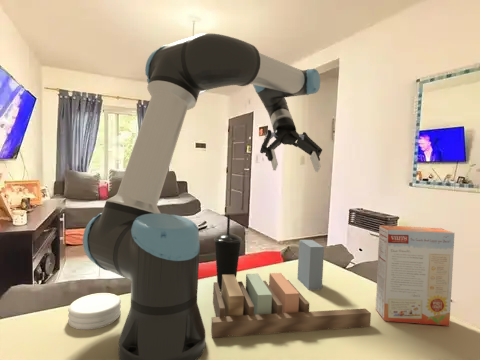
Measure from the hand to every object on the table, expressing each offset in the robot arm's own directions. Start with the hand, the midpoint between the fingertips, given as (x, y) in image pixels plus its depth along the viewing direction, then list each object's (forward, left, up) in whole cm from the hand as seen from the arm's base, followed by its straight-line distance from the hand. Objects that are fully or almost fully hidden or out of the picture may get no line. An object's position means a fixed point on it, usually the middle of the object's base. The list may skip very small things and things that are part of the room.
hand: (297, 168), depth 87 cm
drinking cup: (-21, -5, -34) cm, 40 cm away
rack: (-10, -20, -34) cm, 40 cm away
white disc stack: (-51, -18, -34) cm, 64 cm away
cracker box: (+19, -26, -34) cm, 47 cm away
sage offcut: (-16, -20, -34) cm, 42 cm away
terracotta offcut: (-10, -20, -34) cm, 40 cm away
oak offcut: (-22, -20, -34) cm, 45 cm away
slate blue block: (+4, -5, -34) cm, 34 cm away
